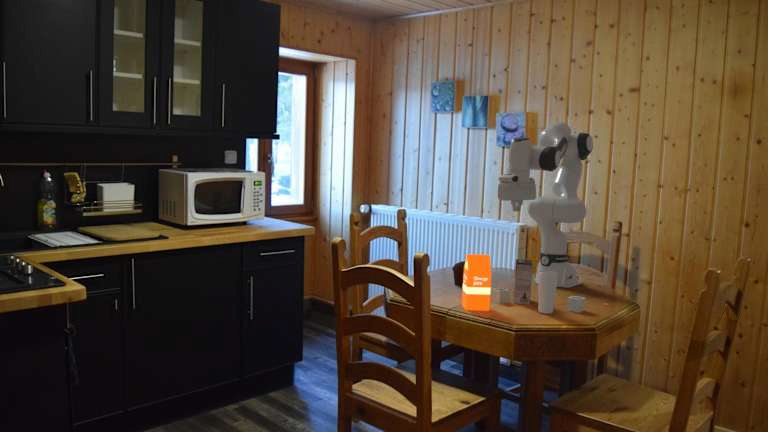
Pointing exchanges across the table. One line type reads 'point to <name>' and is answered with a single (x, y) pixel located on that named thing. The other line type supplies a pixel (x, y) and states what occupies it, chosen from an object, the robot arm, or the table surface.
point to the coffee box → (522, 281)
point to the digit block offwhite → (576, 304)
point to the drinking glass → (546, 291)
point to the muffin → (458, 273)
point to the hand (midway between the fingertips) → (516, 211)
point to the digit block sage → (500, 295)
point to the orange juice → (476, 282)
